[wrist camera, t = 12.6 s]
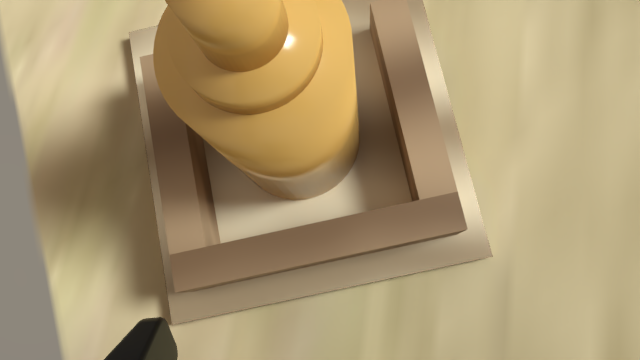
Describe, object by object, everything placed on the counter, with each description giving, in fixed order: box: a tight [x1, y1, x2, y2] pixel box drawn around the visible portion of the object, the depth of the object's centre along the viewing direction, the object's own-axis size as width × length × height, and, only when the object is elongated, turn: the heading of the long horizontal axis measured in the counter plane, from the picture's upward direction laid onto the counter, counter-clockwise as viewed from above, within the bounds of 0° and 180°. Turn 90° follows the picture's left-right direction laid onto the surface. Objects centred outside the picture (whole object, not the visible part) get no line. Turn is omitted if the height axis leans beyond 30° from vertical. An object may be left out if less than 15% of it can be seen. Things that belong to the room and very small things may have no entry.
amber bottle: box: [153, 0, 360, 200], centre depth 18 cm, size 6×6×13 cm
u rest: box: [129, 0, 493, 325], centre depth 23 cm, size 14×14×3 cm
